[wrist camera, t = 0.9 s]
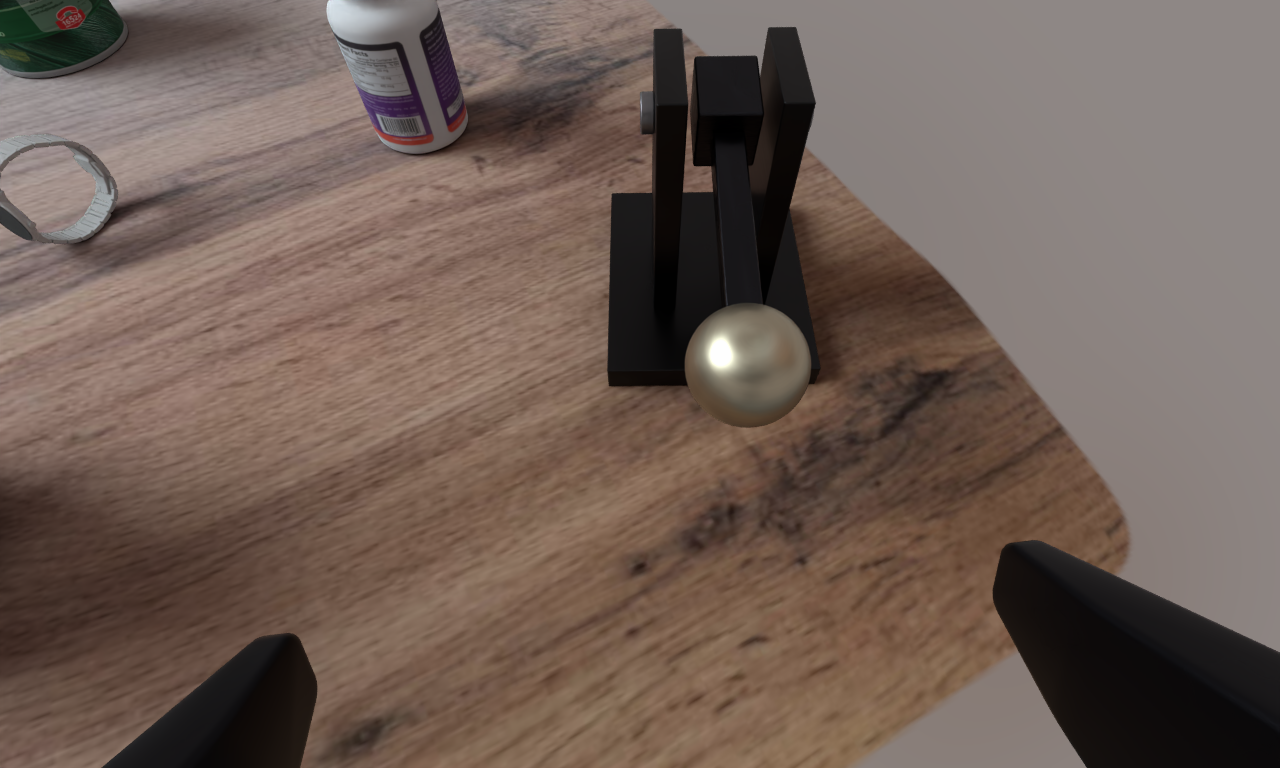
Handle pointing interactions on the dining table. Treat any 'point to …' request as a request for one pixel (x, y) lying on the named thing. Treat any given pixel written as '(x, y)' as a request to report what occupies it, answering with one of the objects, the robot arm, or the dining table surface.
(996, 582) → the robot arm
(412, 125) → the pill bottle
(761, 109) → the lever
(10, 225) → the grey ring-shaped piece
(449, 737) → the dining table surface
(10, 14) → the canned tomato
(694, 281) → the bracket
